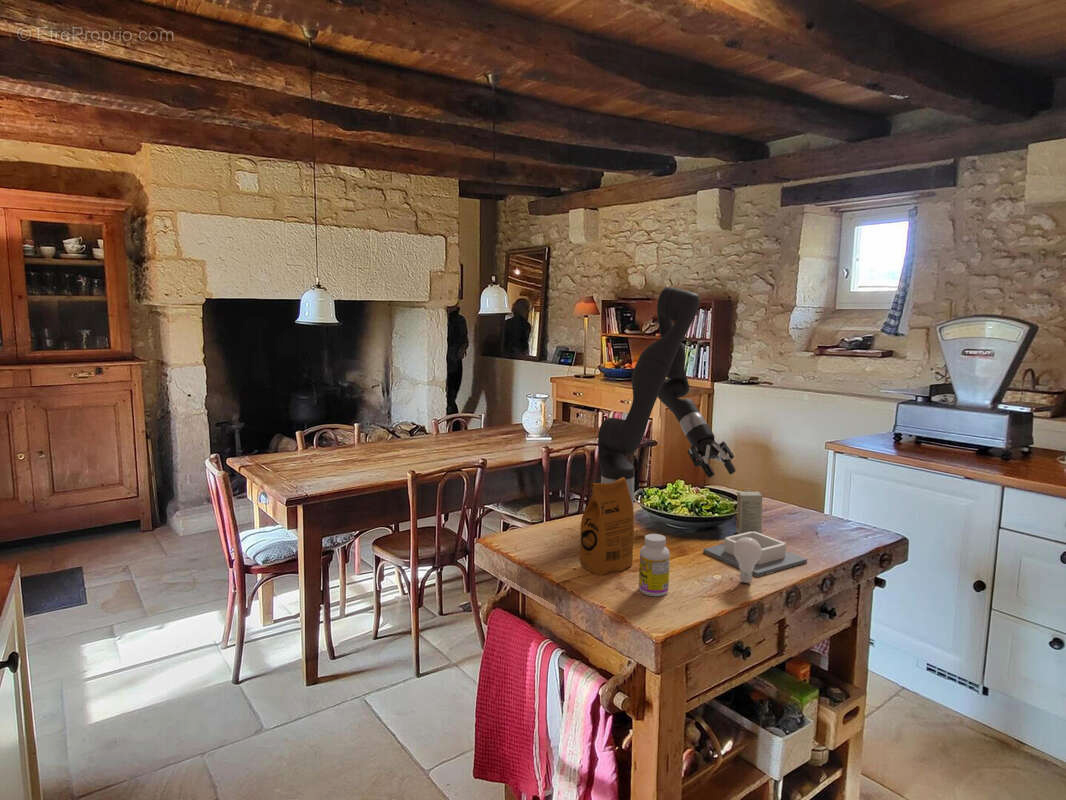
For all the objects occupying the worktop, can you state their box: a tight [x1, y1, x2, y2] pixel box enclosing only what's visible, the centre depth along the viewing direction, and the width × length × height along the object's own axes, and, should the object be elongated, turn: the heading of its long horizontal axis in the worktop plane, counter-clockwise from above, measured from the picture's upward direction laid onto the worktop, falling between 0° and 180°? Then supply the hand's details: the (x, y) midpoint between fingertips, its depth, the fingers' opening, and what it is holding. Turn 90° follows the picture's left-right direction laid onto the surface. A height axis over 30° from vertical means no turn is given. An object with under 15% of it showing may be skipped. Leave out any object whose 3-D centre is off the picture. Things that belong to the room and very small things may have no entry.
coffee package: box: [579, 477, 635, 576], centre depth 162 cm, size 10×12×22 cm
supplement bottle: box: [638, 533, 671, 597], centre depth 149 cm, size 7×7×13 cm
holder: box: [703, 531, 808, 577], centre depth 169 cm, size 18×18×4 cm
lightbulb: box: [733, 537, 762, 584], centre depth 153 cm, size 6×6×11 cm
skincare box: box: [735, 490, 763, 535], centre depth 186 cm, size 6×4×12 cm
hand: (722, 474), depth 194 cm, fingers open, 8 cm apart
